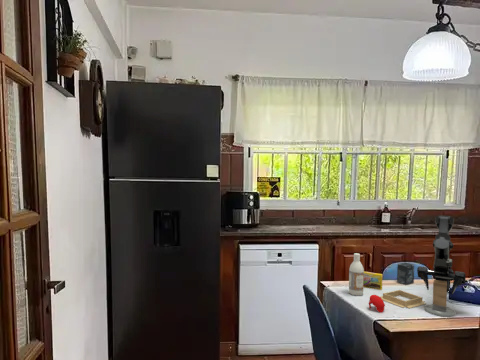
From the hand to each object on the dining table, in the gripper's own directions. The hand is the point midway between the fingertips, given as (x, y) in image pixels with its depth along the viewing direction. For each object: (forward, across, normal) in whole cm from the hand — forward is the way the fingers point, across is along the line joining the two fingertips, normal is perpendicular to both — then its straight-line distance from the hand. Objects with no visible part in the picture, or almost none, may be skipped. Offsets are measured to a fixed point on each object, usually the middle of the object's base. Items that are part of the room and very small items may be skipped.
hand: (439, 291), depth 155 cm
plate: (+5, 0, +7) cm, 9 cm away
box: (-21, -18, +34) cm, 44 cm away
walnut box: (+5, 0, +7) cm, 8 cm away
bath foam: (+3, -37, +10) cm, 38 cm away
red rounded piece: (+15, -24, -2) cm, 28 cm away
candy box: (-6, -35, +20) cm, 41 cm away
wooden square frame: (+2, -16, +11) cm, 19 cm away
